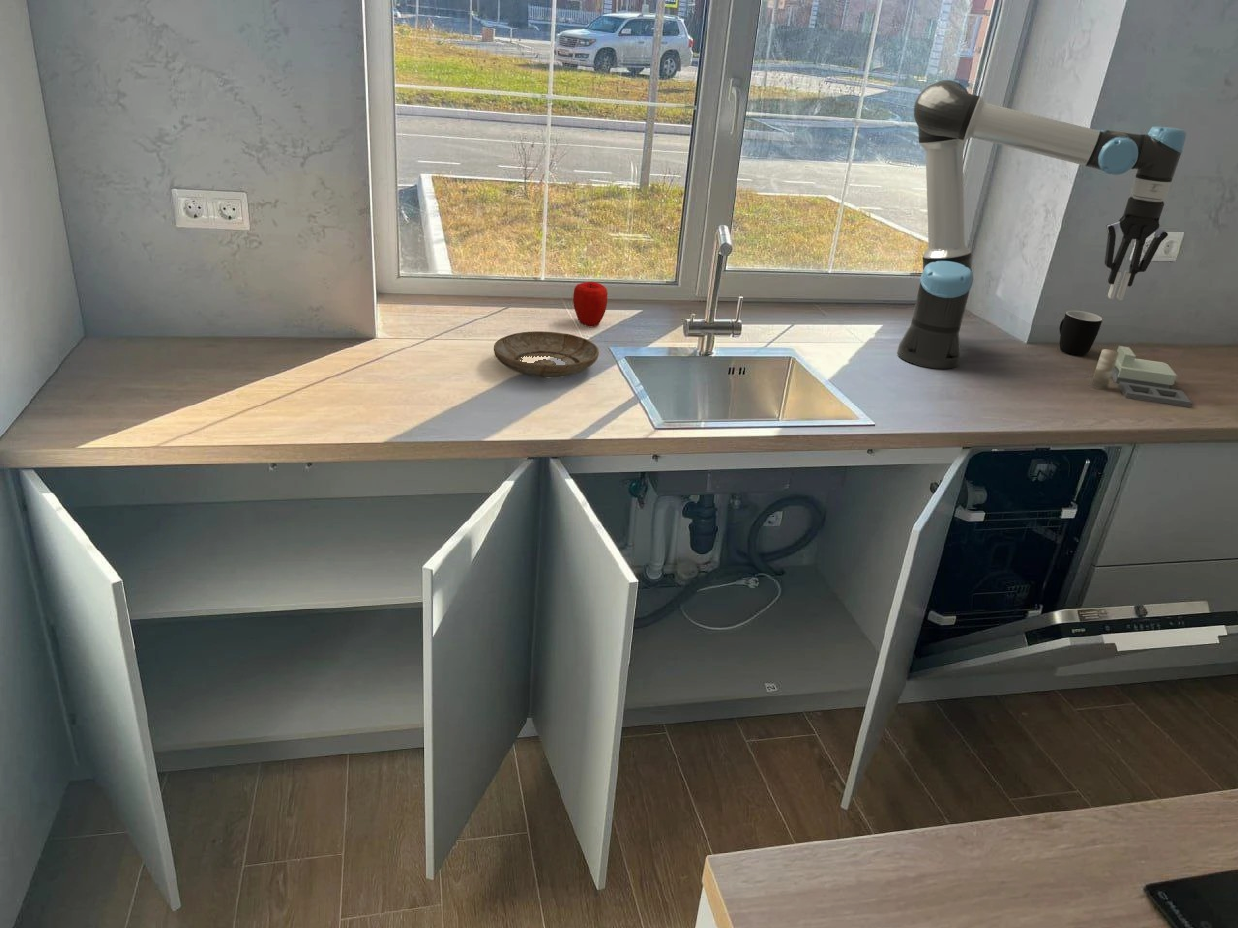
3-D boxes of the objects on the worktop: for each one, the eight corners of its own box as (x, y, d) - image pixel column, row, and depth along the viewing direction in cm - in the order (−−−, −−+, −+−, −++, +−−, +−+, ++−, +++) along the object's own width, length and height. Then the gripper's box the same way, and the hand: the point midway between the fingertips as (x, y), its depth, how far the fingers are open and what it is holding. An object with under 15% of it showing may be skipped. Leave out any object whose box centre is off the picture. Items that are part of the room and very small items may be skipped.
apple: (575, 317, 239) (577, 276, 234) (608, 321, 238) (610, 280, 234) (568, 327, 231) (570, 285, 227) (602, 331, 231) (605, 289, 226)
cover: (1118, 377, 224) (1125, 356, 221) (1109, 364, 233) (1116, 343, 230) (1174, 385, 221) (1182, 364, 219) (1162, 371, 230) (1170, 351, 228)
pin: (1092, 388, 220) (1103, 352, 216) (1089, 383, 223) (1100, 348, 219) (1108, 390, 219) (1120, 355, 215) (1104, 385, 222) (1116, 350, 218)
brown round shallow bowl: (619, 371, 206) (620, 350, 204) (542, 395, 191) (543, 373, 188) (548, 343, 220) (549, 323, 218) (471, 363, 204) (471, 342, 202)
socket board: (1125, 397, 216) (1127, 392, 215) (1118, 386, 223) (1119, 381, 222) (1190, 407, 213) (1191, 402, 212) (1180, 395, 220) (1182, 390, 219)
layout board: (1115, 382, 225) (1119, 372, 224) (1107, 370, 233) (1111, 360, 231) (1168, 390, 222) (1172, 380, 221) (1158, 378, 230) (1162, 368, 229)
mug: (1098, 358, 241) (1110, 321, 237) (1068, 358, 240) (1079, 320, 235) (1070, 343, 252) (1081, 307, 247) (1041, 342, 250) (1051, 306, 246)
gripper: (1117, 197, 209) (1086, 297, 219) (1185, 205, 206) (1150, 306, 216) (1110, 192, 215) (1080, 290, 226) (1176, 199, 212) (1143, 298, 223)
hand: (1114, 298), depth 221 cm, fingers closed
